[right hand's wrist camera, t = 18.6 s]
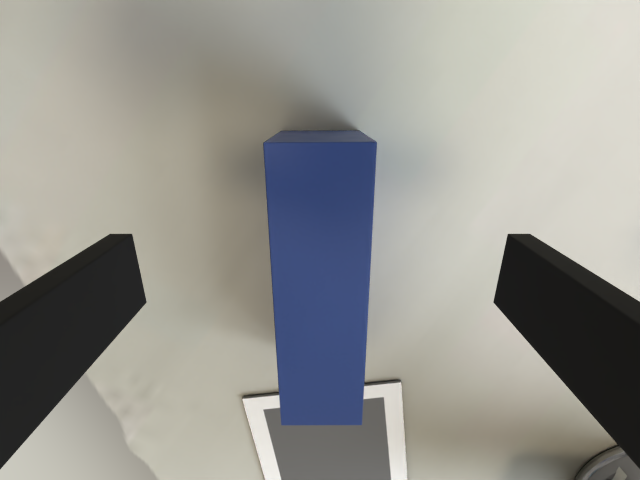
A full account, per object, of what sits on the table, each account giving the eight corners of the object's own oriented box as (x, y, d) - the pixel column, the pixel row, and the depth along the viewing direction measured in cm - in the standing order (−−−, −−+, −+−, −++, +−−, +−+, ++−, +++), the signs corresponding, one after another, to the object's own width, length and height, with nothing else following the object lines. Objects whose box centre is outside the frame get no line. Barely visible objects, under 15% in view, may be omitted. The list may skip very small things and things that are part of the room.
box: (280, 130, 33) (262, 142, 23) (359, 130, 33) (377, 141, 23) (290, 349, 42) (281, 425, 32) (352, 348, 42) (362, 425, 32)
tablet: (410, 537, 55) (411, 540, 55) (284, 547, 56) (284, 550, 55) (400, 379, 43) (401, 382, 43) (241, 396, 44) (240, 399, 44)
